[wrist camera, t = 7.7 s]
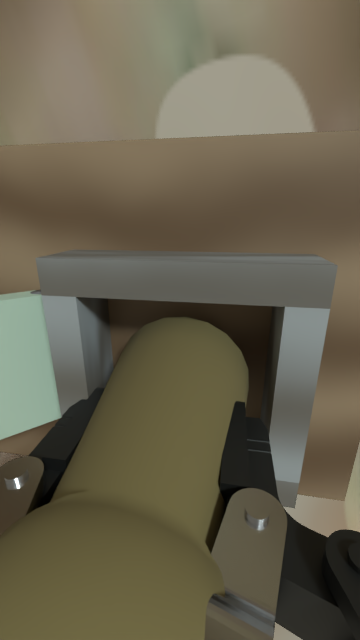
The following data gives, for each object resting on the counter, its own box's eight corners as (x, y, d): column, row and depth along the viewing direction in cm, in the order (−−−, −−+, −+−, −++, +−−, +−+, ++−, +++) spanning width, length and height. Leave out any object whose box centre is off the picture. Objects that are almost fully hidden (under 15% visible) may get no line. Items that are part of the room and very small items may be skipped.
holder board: (-105, 157, 16) (-225, 137, 12) (415, 137, 12) (513, 95, 8) (-26, 430, 22) (-87, 481, 18) (335, 478, 18) (366, 559, 14)
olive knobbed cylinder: (240, 441, 14) (255, 1020, 4) (120, 421, 15) (-119, 856, 5) (258, 324, 12) (388, 910, 2) (118, 309, 13) (-307, 657, 3)
